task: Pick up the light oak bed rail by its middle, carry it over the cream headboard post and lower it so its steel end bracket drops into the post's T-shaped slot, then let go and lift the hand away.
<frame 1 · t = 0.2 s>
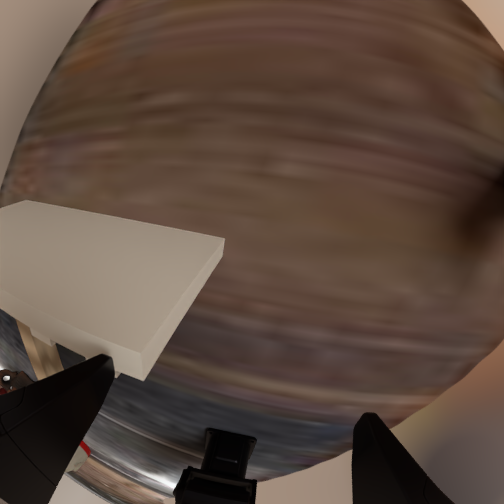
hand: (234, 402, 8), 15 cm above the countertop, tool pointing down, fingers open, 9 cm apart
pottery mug: (29, 382, 38), on the countertop
cocoa: (10, 393, 44), on the countertop
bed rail: (51, 347, 31), on the countertop
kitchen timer: (67, 435, 43), on the countertop
headboard post: (101, 277, 25), on the countertop
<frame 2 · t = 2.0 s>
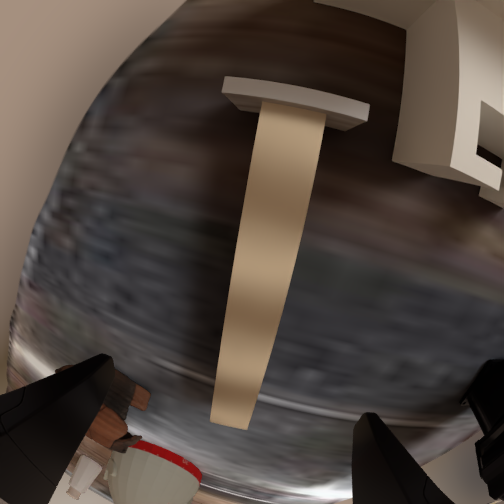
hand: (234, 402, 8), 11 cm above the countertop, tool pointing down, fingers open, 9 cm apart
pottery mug: (114, 386, 26), on the countertop
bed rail: (259, 285, 19), on the countertop
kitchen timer: (158, 462, 31), on the countertop
pepper shaker: (91, 461, 38), on the countertop
headboard post: (467, 119, 13), on the countertop
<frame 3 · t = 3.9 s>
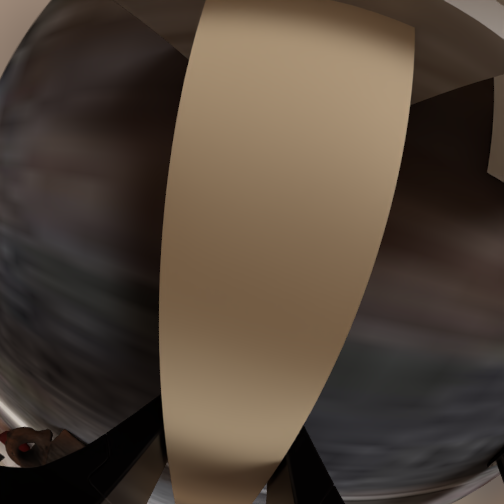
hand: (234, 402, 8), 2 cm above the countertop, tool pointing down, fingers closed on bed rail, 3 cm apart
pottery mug: (79, 447, 17), on the countertop
cocoa: (21, 438, 23), on the countertop
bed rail: (237, 390, 10), on the countertop, touching gripper
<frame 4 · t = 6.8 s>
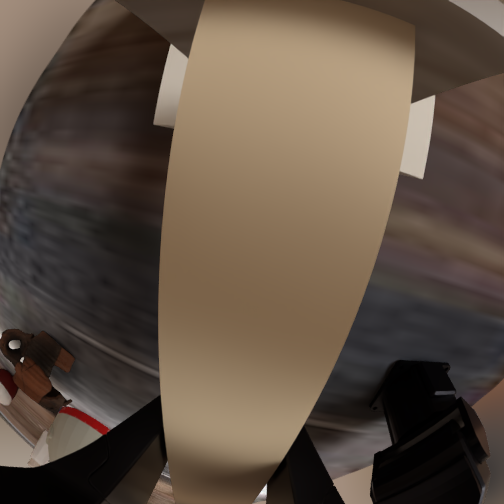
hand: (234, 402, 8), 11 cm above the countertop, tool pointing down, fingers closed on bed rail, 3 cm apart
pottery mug: (51, 353, 27), on the countertop
cocoa: (11, 376, 33), on the countertop
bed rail: (237, 389, 10), point 10 cm above the countertop, touching gripper
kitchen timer: (95, 434, 33), on the countertop
pepper shaker: (53, 437, 39), on the countertop
headboard post: (302, 75, 14), on the countertop
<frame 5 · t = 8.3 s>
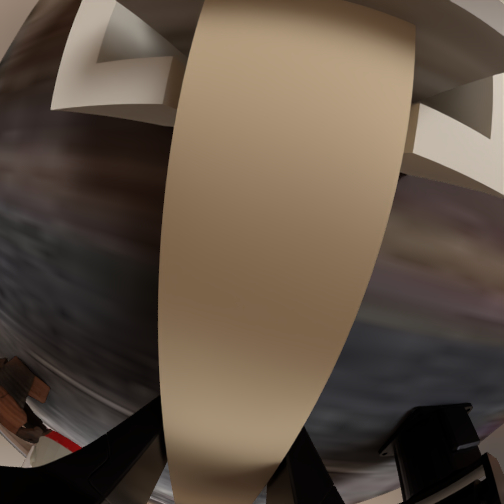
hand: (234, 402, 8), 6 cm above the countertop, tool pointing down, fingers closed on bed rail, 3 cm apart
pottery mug: (28, 378, 21), on the countertop
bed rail: (237, 390, 10), point 4 cm above the countertop, touching gripper
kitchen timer: (80, 456, 27), on the countertop
pepper shaker: (42, 452, 34), on the countertop
headboard post: (306, 38, 9), on the countertop
when the fingers open (2 cm above the countertop, at t = 9.7 s): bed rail drops 1 cm, on the countertop.
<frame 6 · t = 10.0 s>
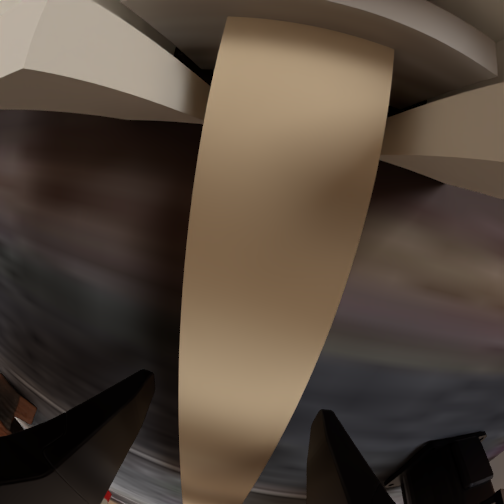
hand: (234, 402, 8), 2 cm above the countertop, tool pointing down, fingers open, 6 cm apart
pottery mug: (15, 396, 18), on the countertop
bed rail: (242, 371, 11), on the countertop
headboard post: (313, 4, 6), on the countertop
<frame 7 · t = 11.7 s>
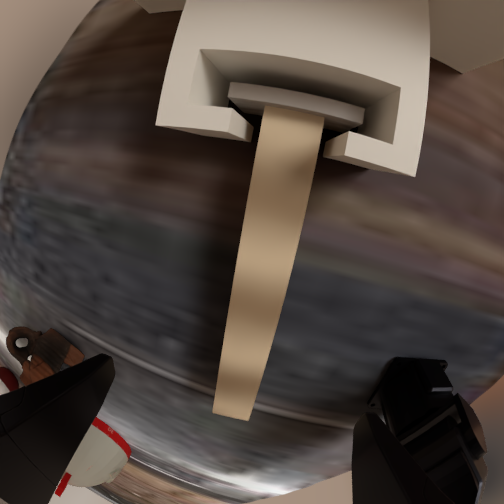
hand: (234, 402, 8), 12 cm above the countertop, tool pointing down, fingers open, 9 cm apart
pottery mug: (60, 351, 27), on the countertop
cocoa: (12, 374, 34), on the countertop
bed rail: (261, 279, 20), on the countertop
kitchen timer: (95, 431, 33), on the countertop
headboard post: (300, 76, 15), on the countertop
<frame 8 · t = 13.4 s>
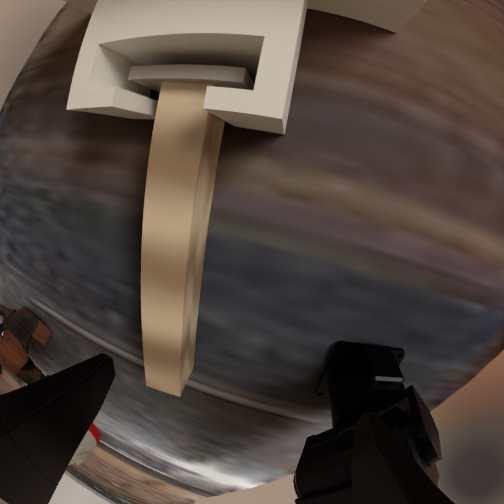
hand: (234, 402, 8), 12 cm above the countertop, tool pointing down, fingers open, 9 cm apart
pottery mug: (32, 329, 27), on the countertop
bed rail: (184, 251, 20), on the countertop
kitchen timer: (68, 414, 33), on the countertop
headboard post: (214, 55, 15), on the countertop
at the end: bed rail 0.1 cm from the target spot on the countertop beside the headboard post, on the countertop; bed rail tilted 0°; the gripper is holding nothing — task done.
